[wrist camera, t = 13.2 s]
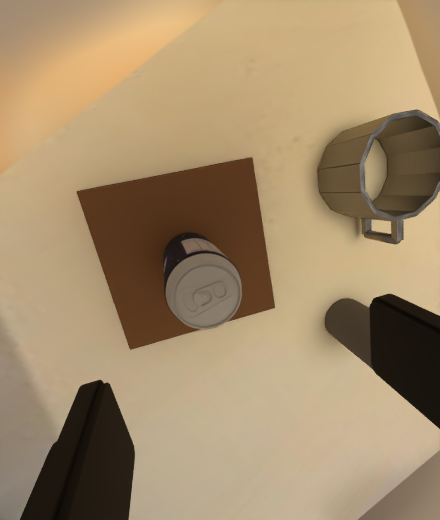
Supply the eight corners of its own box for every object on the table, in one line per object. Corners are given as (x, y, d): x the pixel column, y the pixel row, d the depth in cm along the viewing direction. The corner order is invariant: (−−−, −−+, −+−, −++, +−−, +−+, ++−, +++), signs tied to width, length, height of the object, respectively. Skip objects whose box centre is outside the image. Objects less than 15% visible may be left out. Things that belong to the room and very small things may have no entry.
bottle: (317, 329, 37) (416, 415, 22) (338, 292, 36) (454, 356, 22) (348, 341, 38) (458, 429, 24) (368, 306, 38) (495, 375, 23)
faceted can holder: (314, 136, 30) (357, 120, 23) (390, 122, 32) (450, 103, 25) (323, 245, 34) (363, 257, 27) (391, 227, 35) (444, 235, 29)
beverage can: (154, 241, 28) (151, 274, 17) (204, 223, 29) (233, 243, 17) (174, 288, 30) (182, 347, 18) (220, 270, 30) (256, 316, 19)
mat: (79, 191, 26) (76, 191, 25) (249, 158, 29) (252, 157, 28) (130, 345, 31) (130, 350, 30) (272, 304, 34) (275, 307, 33)
